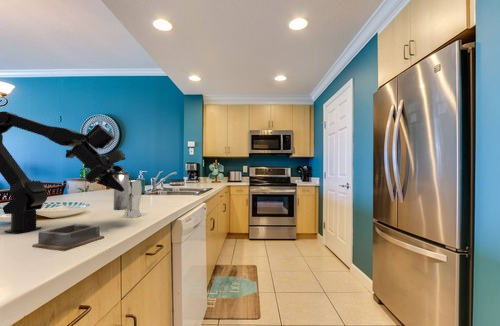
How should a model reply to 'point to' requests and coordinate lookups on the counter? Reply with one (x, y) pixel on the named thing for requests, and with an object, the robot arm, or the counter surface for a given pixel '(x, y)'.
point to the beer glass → (133, 199)
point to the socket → (68, 237)
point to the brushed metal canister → (119, 196)
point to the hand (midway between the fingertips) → (125, 190)
